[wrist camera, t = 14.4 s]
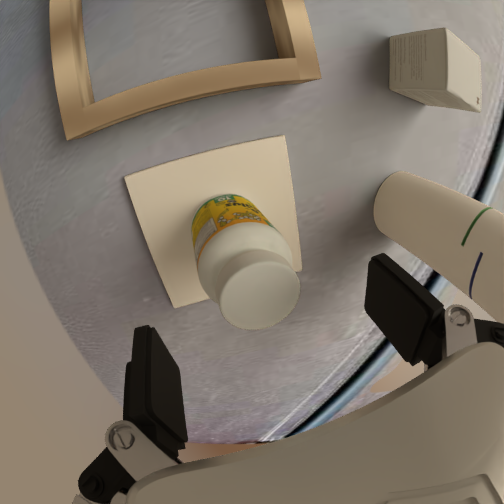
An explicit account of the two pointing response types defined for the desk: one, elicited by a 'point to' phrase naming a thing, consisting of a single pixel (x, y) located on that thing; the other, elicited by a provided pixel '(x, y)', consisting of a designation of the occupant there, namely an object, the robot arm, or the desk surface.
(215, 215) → the supplement bottle
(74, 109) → the wooden square frame
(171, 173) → the pad
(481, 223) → the cylindrical container
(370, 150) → the desk surface
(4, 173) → the desk surface
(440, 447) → the robot arm
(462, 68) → the product box
